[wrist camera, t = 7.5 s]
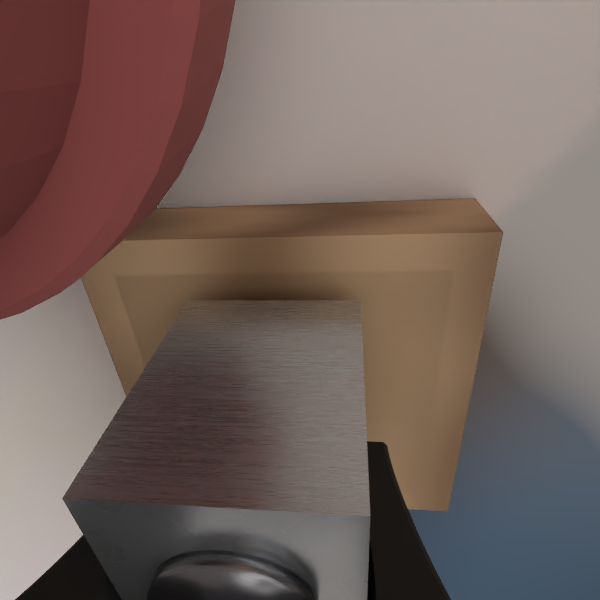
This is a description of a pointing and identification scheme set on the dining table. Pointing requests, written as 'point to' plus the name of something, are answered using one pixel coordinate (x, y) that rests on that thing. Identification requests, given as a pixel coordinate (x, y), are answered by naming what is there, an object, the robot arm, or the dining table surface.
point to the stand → (329, 286)
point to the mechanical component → (94, 126)
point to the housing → (237, 460)
